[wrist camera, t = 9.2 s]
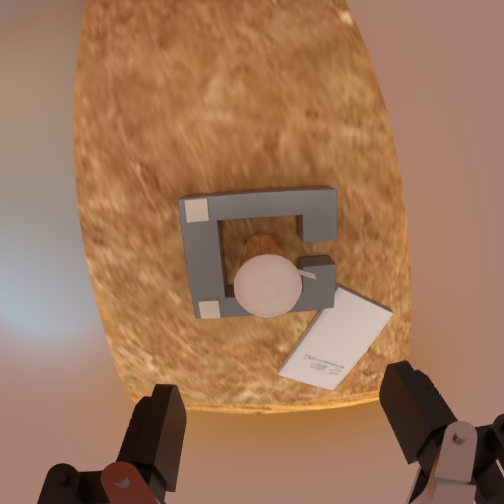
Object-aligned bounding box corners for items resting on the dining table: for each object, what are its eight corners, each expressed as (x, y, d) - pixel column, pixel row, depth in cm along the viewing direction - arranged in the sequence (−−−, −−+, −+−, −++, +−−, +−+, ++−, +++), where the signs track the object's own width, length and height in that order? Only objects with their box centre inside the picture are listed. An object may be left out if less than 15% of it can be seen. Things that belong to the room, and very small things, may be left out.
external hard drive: (389, 307, 30) (331, 383, 33) (334, 280, 28) (276, 366, 32) (395, 314, 28) (334, 391, 32) (339, 287, 27) (278, 375, 30)
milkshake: (301, 254, 27) (330, 305, 17) (252, 280, 28) (255, 342, 18) (279, 212, 25) (299, 245, 16) (227, 241, 26) (218, 288, 17)
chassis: (184, 195, 25) (177, 200, 22) (328, 186, 25) (338, 189, 22) (199, 305, 28) (195, 319, 26) (327, 295, 28) (334, 309, 26)
